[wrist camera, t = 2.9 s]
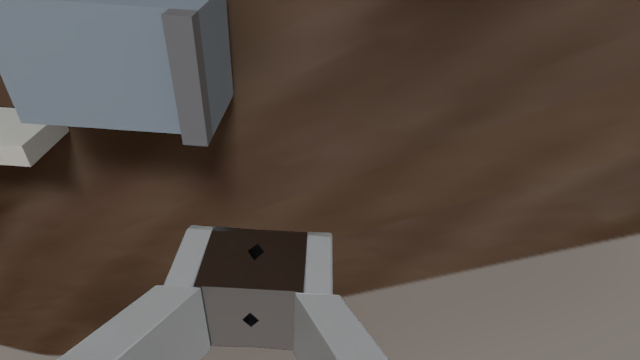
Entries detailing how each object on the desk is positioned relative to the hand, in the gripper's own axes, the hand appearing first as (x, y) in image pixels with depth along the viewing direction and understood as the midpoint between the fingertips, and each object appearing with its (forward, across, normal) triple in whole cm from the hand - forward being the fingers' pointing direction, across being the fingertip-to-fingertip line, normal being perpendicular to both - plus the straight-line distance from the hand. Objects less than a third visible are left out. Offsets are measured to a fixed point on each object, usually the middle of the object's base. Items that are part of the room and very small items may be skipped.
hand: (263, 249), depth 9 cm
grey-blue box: (+13, +7, 0) cm, 15 cm away
